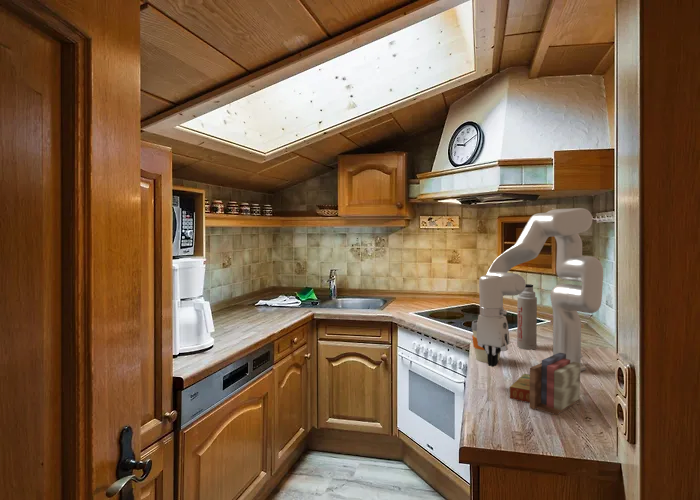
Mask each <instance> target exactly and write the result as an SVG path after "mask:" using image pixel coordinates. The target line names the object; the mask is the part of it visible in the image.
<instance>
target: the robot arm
mask: <svg viewBox="0 0 700 500" xmlns="http://www.w3.org/2000/svg"><path fill="white" fill-rule="evenodd" d="M592 224H593V215H592V213H591V211H589V210H588V209H587V208H583V207H577V208H576V207H575V208H573V207H572V208H556V209H550V210H548V211H547V212H539V213H535V214H533V215H531V216H530V218H529V219H528V221H527V223H526V224H525V226H524V227H523V230H522V232H520V235H519V237H518V239H517V240H516V242H515V243H514V245H512V246H511V247H510V248H508V249H506V250H505V251H504V252H502V253H501V254H500V255H499V256H498V257H496V258H495V259H494V261H493V262H492V264H491V265H490V267H489V269H488V270H487V272H486V274H485V275H482V276H480V277H479V279H478V282H479V283H478V289H479V291H478V292H479V293H478V294H479V314H478V315H477V320H478V321H477V341H478V346H480V347H483V348H484V350H485V351H486V354H487V356H488V366H489V367H491V368H493V367H496V366H497V365H498V364H499V361H498V354H499V353H500V354H501V352H507V351H508V350H509V347H508V345H509V344H510V329H509V324H508V320H507V316H505V315H507V313H508V311H507V310H505V309H504V296H509V297H511V296H519V294H521V293H522V292H523V291H524V289H525V286H526V280H525V278H524V277H523V276H522V275H520V274H518V273H513V272H512V273H511V272H509V271H510V270H511V269H513V268H514V267H517V266H519V265H521V264H523V263H527V262H529V261H531V260H534V259H536V258H537V257H539V254H540V253H541V250H542V249H543V247H544V245H545V243H546V241H547V240H548V238H549V237H554V239H555V241H556V265H555V266H556V267H555V269H556V270H555V271H556V275H557V278H559V279H561V280H562V281H563V280H565V281H570V282H579V283H581V285H579V284H571V283H561V284H560V283H559V284H557V285H554V287H552V289H551V291H550V302H551V306H552V307H551V308H552V318H553V319H552V323H553V324H552V356H553V355H555V354H557V353H564V354H566V359H569V360H570V363H572V362H577V363H580V372H583V371H586V365H585V363H582V362H581V361H582V358H583V357H584V355H583V354H582V321H581V317H580V315H579V312H581V313H585V314H593V313H596V312H598V311H599V309H600V308H601V305H602V301H603V284H604V283H603V282H604V269H603V268H604V267H603V264H602V262H601V261H600V260H599V259H598V258H597V257H595V256H591V255H590V256H589V255H588V256H587V255H585V256H584V255H583V241H582V238H581V237H580V235H579V234H582V233H584V232H586V231H588V230H589V229H590V228H591V226H592Z"/></svg>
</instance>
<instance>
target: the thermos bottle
mask: <svg viewBox="0 0 700 500" xmlns="http://www.w3.org/2000/svg"><path fill="white" fill-rule="evenodd" d="M516 306H517V311H516V312H517V313H516V314H517V315H516V316H517V317H516V318H517V327H516V328H517V330H516V335H517V336H516V338H517V339H516V342H517V343H516V344H517V345H516V346H517V348H518V347H519V348H518V349H521V350H531V349H532V350H537V346H538V344H537V335H538V334H537V330H538V329H537V323H538V321H537V320H538V298H537V297H536V292H535V291H534V284H530V283H529V284H528V283H527V284H526V286H525V289H524V291H523V292H522V293H521V294H519V295H517V305H516Z"/></svg>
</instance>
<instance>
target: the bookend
mask: <svg viewBox="0 0 700 500" xmlns="http://www.w3.org/2000/svg"><path fill="white" fill-rule="evenodd" d="M529 374H530V402H529V409H531V410H534V411H535V410H538V411H539V410H540V411H542V412H546V413H550V414H552V415H556V416H557V415H559V414H560V413H562V412H564V411H566V410H567V409H569V408H570V407H571V406H573V405H575V404H577V403H578V402H580V401H581V397H580V395H581V371H580V363H577V362H572V363H570V360H569V359H566V354H564V353H557V354H555V355H553V354H552V355H550V356H548V357H546V358H544V359H541V362H540V363H538V364H535V365H533V366H531V367H529Z"/></svg>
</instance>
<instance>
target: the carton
mask: <svg viewBox="0 0 700 500" xmlns="http://www.w3.org/2000/svg"><path fill="white" fill-rule="evenodd" d="M509 399H512V400H517V401H520V400H521V401H522V402H525V401H526V403H530V373H529V374H528V373H523V374H522V375H521V376H520V377H519V378H518V379H517V380H515V382H513V384H512V385H510V387H509ZM521 401H520V402H521Z"/></svg>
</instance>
